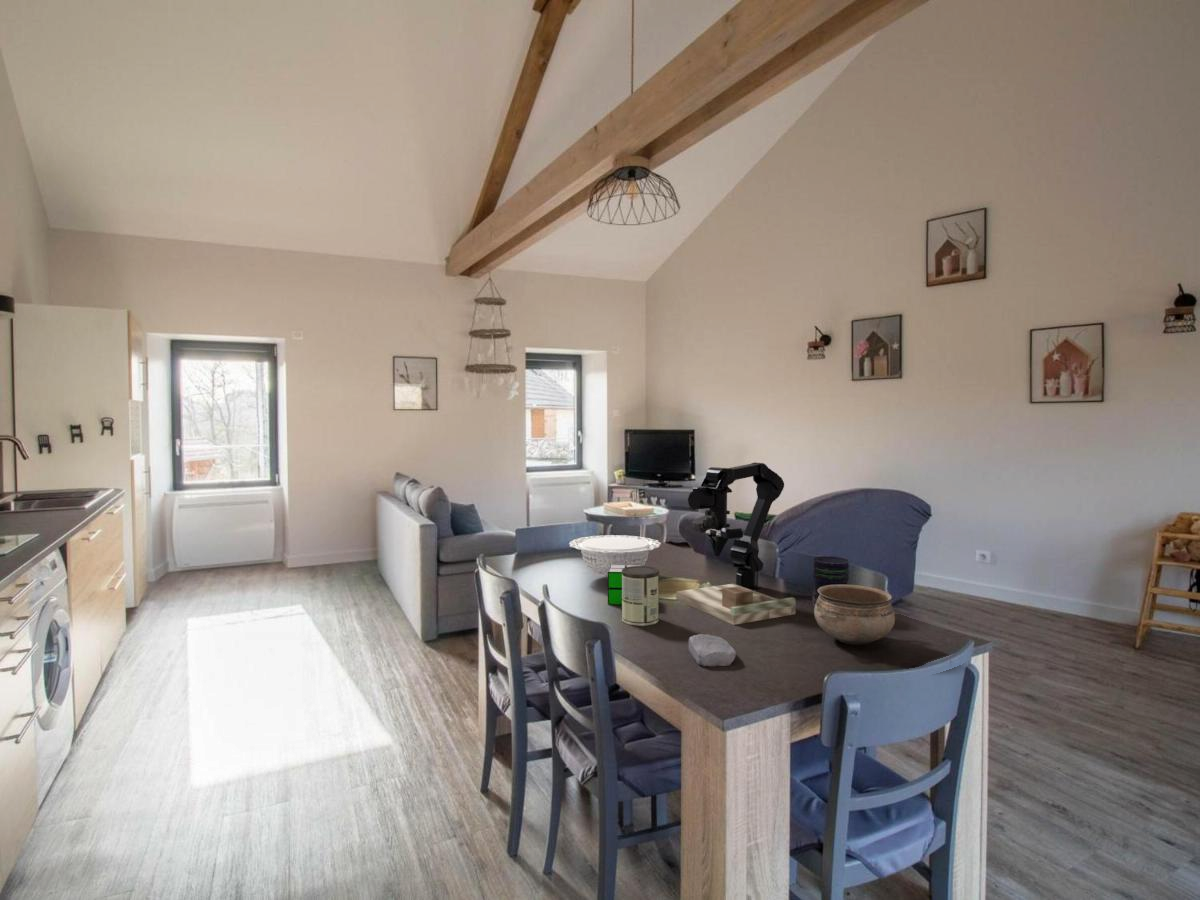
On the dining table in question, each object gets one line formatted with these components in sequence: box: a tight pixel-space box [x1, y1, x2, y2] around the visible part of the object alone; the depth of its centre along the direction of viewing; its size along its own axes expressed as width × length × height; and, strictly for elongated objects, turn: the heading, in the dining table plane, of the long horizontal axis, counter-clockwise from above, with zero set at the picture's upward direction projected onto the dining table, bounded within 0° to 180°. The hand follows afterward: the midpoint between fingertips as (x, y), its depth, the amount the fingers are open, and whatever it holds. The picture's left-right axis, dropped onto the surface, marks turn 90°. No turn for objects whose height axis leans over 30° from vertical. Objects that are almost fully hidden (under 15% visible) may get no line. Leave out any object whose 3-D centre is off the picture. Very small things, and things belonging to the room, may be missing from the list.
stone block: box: [688, 633, 737, 668], centre depth 157 cm, size 12×5×10 cm
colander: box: [568, 534, 662, 577], centre depth 232 cm, size 32×32×13 cm
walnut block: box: [722, 586, 754, 609], centre depth 189 cm, size 6×6×5 cm
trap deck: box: [675, 583, 797, 626], centre depth 199 cm, size 22×28×4 cm
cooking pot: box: [813, 584, 896, 646], centre depth 168 cm, size 25×19×12 cm
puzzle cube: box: [607, 564, 638, 606], centre depth 205 cm, size 10×10×10 cm
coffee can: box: [621, 565, 660, 627], centre depth 185 cm, size 10×10×14 cm
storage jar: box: [812, 555, 850, 612], centre depth 195 cm, size 10×10×15 cm
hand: (717, 556), depth 213 cm, fingers closed
